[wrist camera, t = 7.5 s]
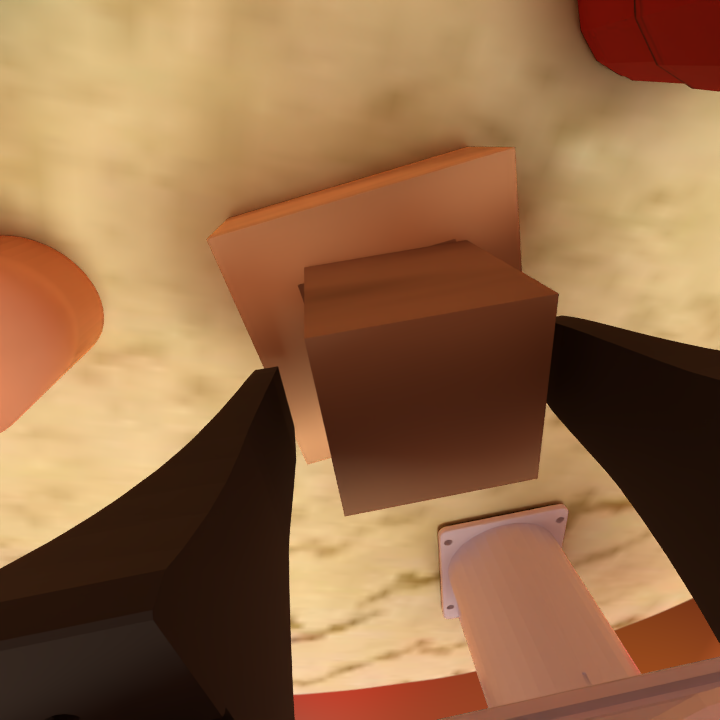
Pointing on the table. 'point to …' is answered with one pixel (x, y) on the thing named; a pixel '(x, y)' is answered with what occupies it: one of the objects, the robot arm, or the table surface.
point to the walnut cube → (428, 372)
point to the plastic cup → (656, 39)
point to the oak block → (357, 250)
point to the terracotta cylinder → (41, 322)
